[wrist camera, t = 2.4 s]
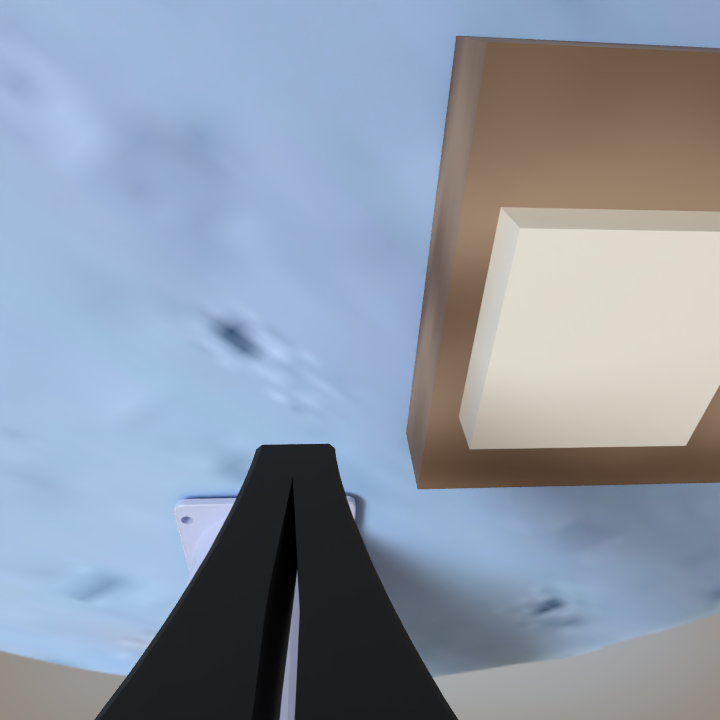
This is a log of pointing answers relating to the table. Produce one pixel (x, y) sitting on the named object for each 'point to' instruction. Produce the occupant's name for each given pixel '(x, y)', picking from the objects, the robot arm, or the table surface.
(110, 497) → the table surface
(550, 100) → the board
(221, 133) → the table surface
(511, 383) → the coaster
